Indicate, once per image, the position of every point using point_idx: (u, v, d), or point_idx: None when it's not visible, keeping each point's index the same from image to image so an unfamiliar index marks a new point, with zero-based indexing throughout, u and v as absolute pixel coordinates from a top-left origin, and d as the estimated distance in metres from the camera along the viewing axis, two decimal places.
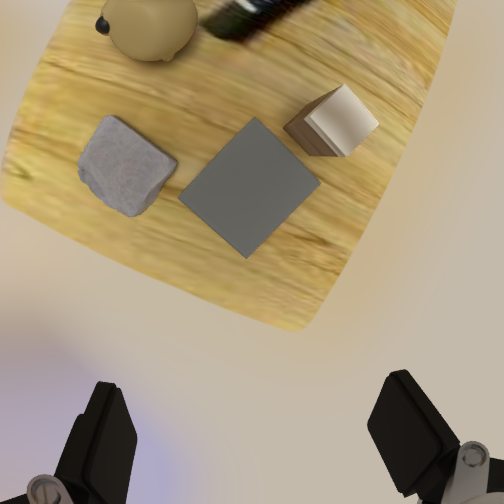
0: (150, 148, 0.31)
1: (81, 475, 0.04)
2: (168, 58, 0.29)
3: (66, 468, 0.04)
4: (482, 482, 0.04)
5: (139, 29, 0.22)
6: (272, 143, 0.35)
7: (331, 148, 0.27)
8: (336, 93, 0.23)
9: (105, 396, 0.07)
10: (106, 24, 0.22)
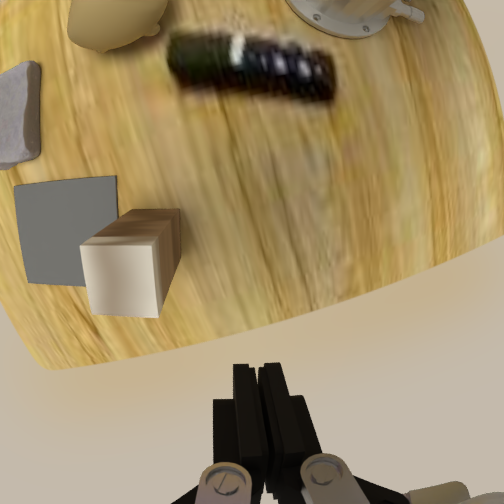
0: (20, 126, 0.20)
1: (259, 451, 0.06)
2: (98, 50, 0.20)
3: (244, 448, 0.06)
4: None
5: (73, 3, 0.13)
6: (108, 215, 0.27)
7: None
8: (129, 247, 0.17)
9: (248, 376, 0.09)
10: None
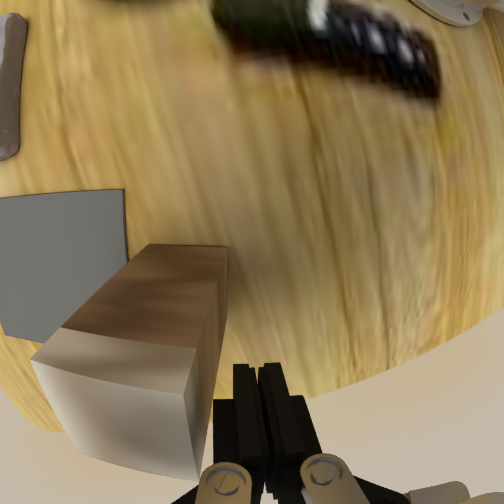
0: None
1: (259, 451, 0.06)
2: None
3: (244, 448, 0.06)
4: None
5: None
6: (112, 252, 0.17)
7: None
8: (131, 390, 0.07)
9: (248, 376, 0.09)
10: None
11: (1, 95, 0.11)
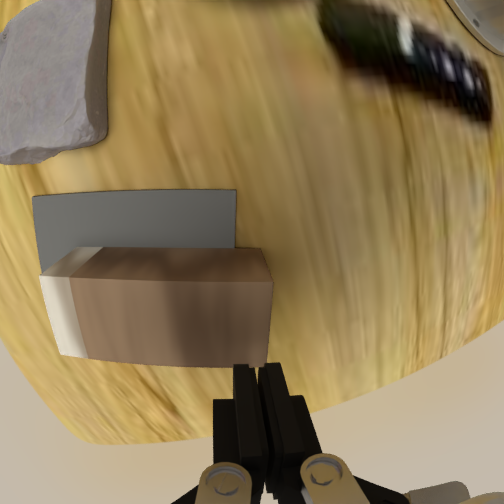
0: (78, 79, 0.11)
1: (259, 451, 0.06)
2: None
3: (244, 448, 0.06)
4: None
5: None
6: None
7: None
8: None
9: (248, 376, 0.09)
10: None
11: (93, 70, 0.12)
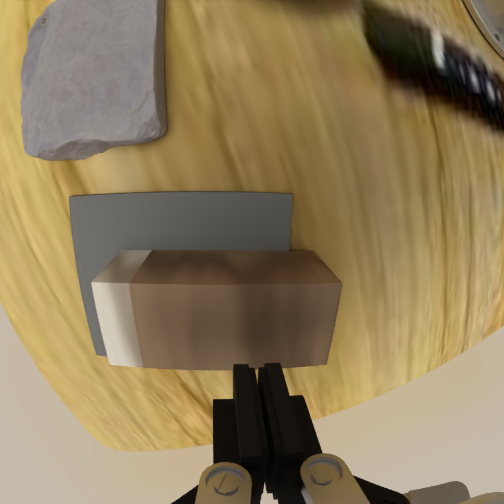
0: (146, 69, 0.11)
1: (259, 451, 0.06)
2: None
3: (244, 448, 0.06)
4: None
5: None
6: None
7: None
8: None
9: (248, 376, 0.09)
10: None
11: (157, 62, 0.12)
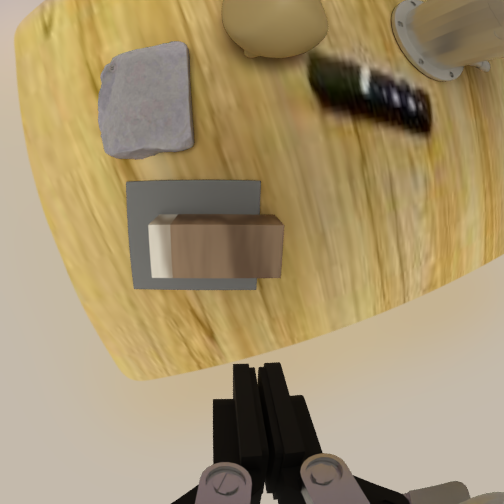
0: (185, 111, 0.24)
1: (259, 451, 0.06)
2: (249, 54, 0.24)
3: (245, 448, 0.06)
4: None
5: (255, 1, 0.17)
6: None
7: None
8: None
9: (248, 376, 0.09)
10: None
11: (190, 105, 0.25)
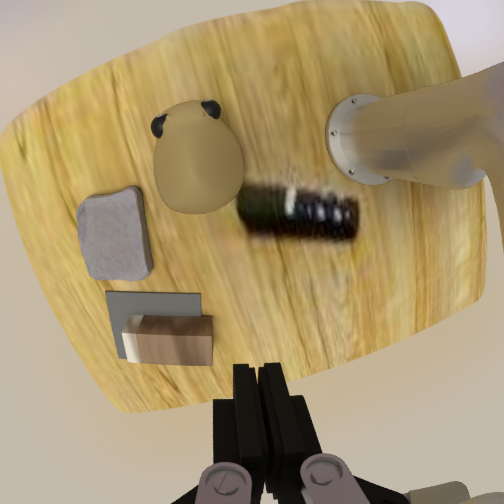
0: (141, 255, 0.34)
1: (259, 451, 0.06)
2: None
3: (244, 448, 0.06)
4: None
5: (170, 182, 0.27)
6: None
7: None
8: (124, 328, 0.37)
9: (247, 376, 0.09)
10: (159, 133, 0.27)
11: (145, 246, 0.35)
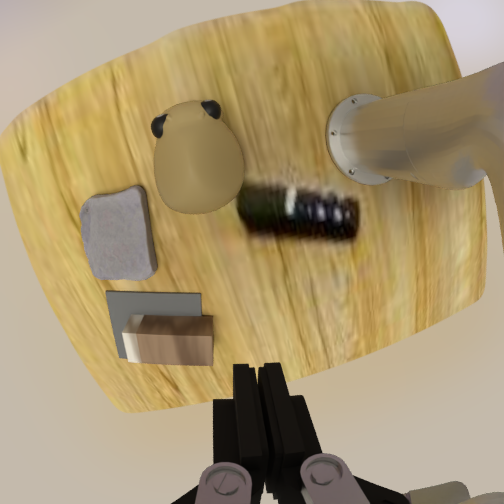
0: (145, 254, 0.34)
1: (259, 451, 0.06)
2: None
3: (244, 448, 0.06)
4: None
5: (170, 182, 0.27)
6: None
7: None
8: (124, 328, 0.37)
9: (248, 376, 0.09)
10: (160, 133, 0.27)
11: (149, 245, 0.35)
